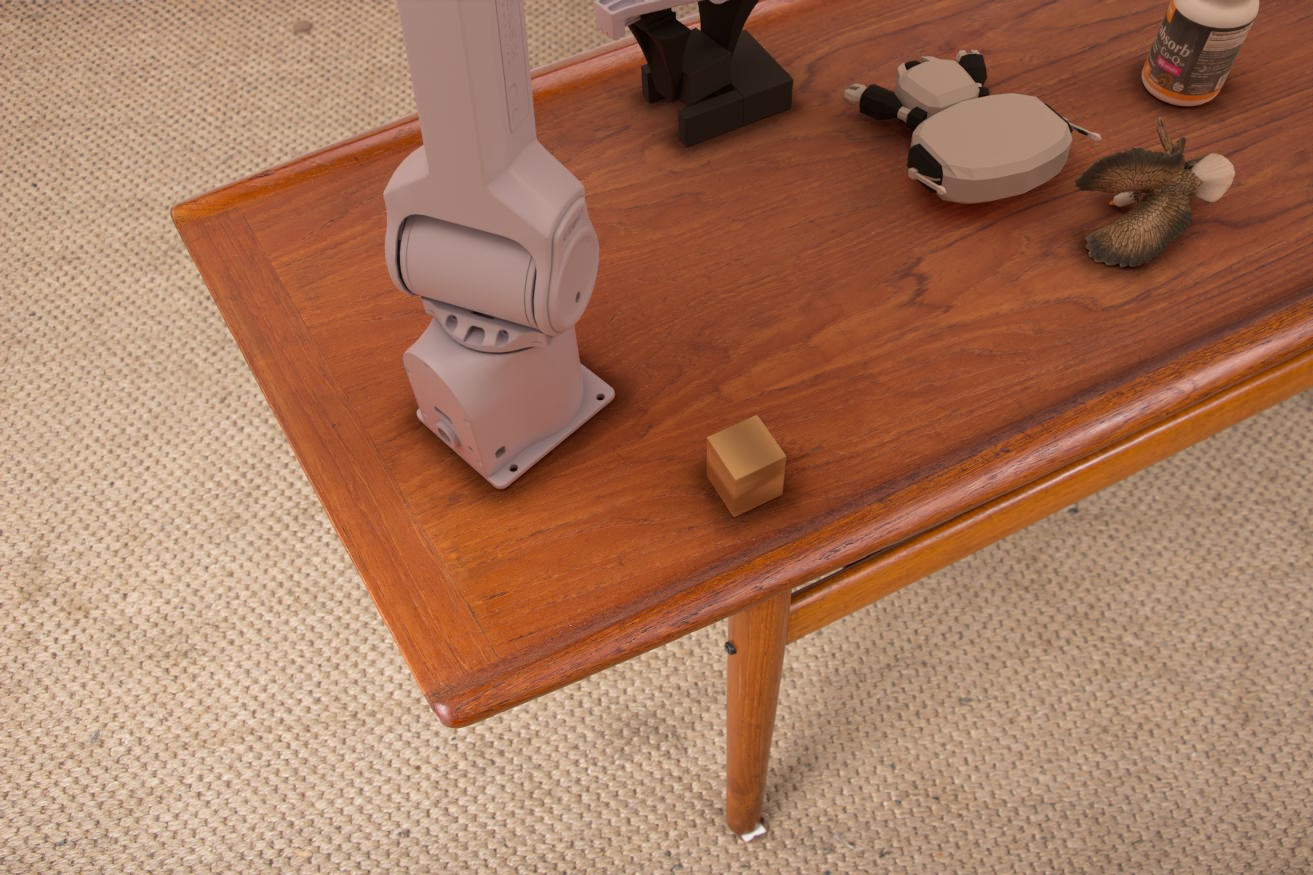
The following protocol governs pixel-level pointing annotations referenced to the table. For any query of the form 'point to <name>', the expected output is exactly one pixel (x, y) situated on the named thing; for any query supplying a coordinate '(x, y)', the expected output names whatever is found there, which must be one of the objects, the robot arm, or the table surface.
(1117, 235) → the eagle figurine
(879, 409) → the table surface
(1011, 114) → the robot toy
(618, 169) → the table surface
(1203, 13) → the pill bottle
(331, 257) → the table surface
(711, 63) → the small pad
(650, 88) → the base pad
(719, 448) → the cube
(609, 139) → the table surface
